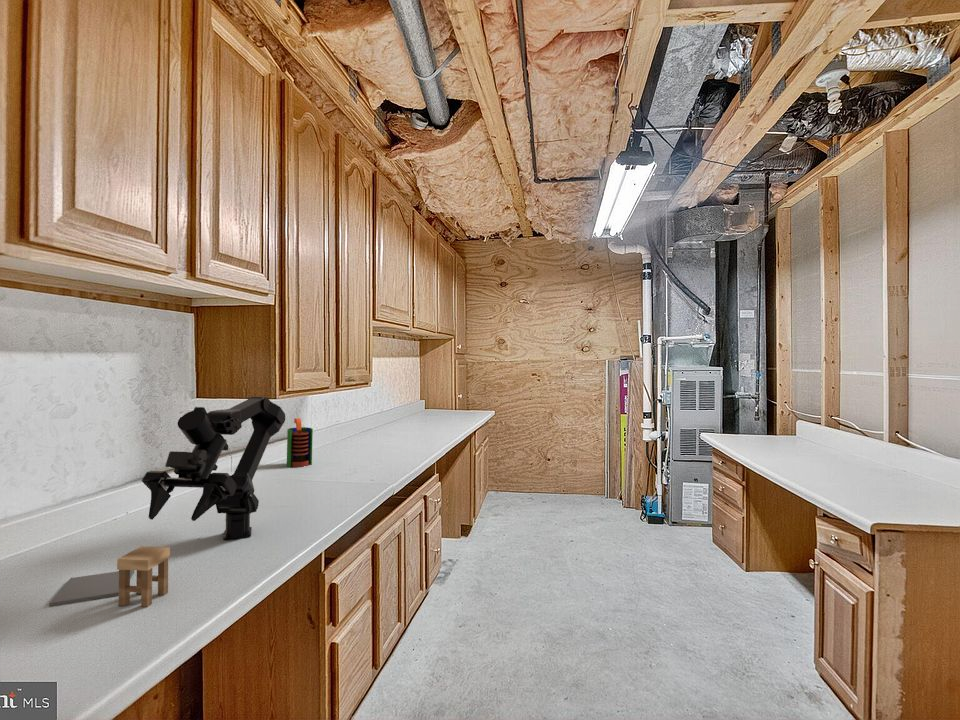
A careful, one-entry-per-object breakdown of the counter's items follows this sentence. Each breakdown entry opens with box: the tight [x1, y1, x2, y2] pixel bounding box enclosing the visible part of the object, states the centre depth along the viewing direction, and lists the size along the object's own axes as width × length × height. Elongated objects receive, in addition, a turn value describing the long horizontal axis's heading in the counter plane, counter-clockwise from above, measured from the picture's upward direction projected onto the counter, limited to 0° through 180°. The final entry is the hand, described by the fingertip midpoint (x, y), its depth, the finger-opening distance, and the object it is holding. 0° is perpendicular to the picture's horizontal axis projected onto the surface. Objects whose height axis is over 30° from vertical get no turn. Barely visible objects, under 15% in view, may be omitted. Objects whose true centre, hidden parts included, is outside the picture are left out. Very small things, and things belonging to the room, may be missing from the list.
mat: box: [48, 570, 135, 607], centre depth 97 cm, size 11×11×1 cm
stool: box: [116, 545, 171, 608], centre depth 93 cm, size 6×6×9 cm
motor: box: [286, 417, 314, 468], centre depth 206 cm, size 10×9×20 cm
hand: (171, 519), depth 100 cm, fingers open, 9 cm apart
